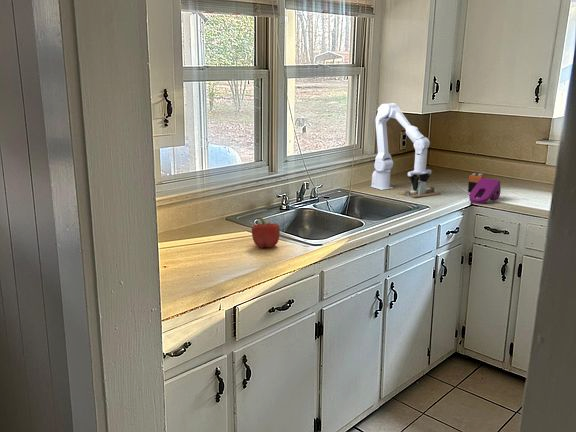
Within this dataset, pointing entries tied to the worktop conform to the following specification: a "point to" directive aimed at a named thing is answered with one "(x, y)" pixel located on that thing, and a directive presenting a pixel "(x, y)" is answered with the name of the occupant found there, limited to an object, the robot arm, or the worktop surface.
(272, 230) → the vegetable
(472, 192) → the mounting bracket
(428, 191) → the rail mount
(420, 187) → the block
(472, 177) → the battery
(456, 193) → the worktop surface
